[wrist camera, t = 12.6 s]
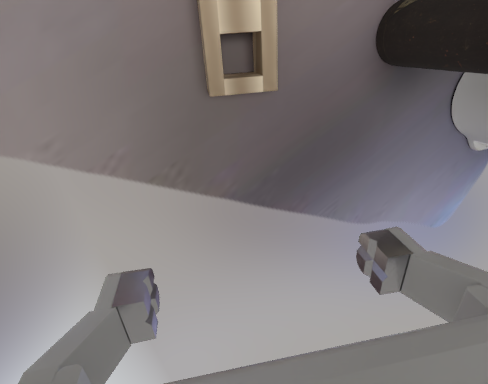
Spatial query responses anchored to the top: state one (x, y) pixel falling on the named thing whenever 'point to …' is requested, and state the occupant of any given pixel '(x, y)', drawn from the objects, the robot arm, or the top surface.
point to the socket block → (239, 21)
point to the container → (436, 35)
